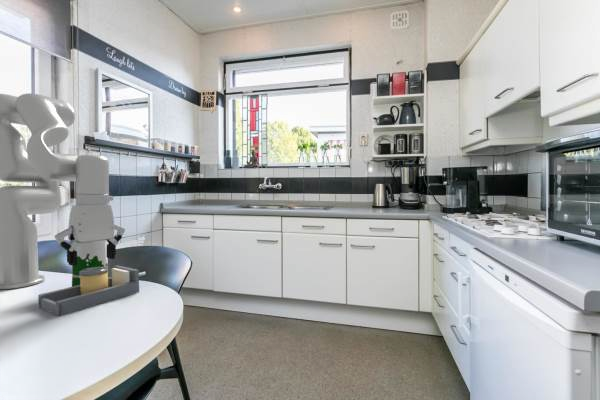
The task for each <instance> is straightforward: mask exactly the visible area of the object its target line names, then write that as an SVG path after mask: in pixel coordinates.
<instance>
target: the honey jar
mask: <svg viewBox="0 0 600 400" xmlns="http://www.w3.org/2000/svg"><path fill="white" fill-rule="evenodd" d="M108 273H109V266H108V267H93V268H87V269H83V270H81V271H80V290H81V295H83V294H86V293H90V292H94V291H98V290H102V289H105V288H108Z"/></svg>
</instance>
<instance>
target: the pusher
mask: <svg viewBox="0 0 600 400" xmlns="http://www.w3.org/2000/svg"><path fill="white" fill-rule="evenodd" d="M145 275H146V271H143V272H139V277H142V276H145ZM111 277H112V287H113V286H117V285H121V284H124V283H128V282H130V279H129V271H126V270H122V269H117V268H114V267H113V268H111Z"/></svg>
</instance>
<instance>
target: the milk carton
mask: <svg viewBox="0 0 600 400" xmlns="http://www.w3.org/2000/svg"><path fill="white" fill-rule="evenodd" d="M107 244H108V242H107V241H106V240H102V241H94V242H86V243H80V244H79V245H78V246H77V248H76V249H75V251H77V265H76V266H72V265H71V268H72V269H71V270H72V271H71V272H72V273H71V274H72V275H71V287H73V286H77V285H80V271H81V270H83V269H87V268H93V267H108V268H109V264H108V263H109V258H107ZM108 278H110V274H109V272H108Z"/></svg>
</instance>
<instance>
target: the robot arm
mask: <svg viewBox="0 0 600 400" xmlns="http://www.w3.org/2000/svg"><path fill="white" fill-rule="evenodd" d="M75 120H76V113H75V109H74V108H73V106H71V104H70V103H69V102H67V101H64V100H62V99H59V98H58V99H57V98H54V97H50V96H46V95H43V94H39V93H38V94H37V93H31V92H30V93H23V94H20V95H19V96H15V95H11V94H5V93H0V181H2V182H7V183H32V184H34V183H35V185H6V186H1V187H0V290H13V289H17V288H18V289H19V288H24V287H30V286H33V285H37V284H39V283H42V282H44V281H45V279H46V278H45V277H46V276H45V275H41V274H39V247H38V244H39V243H38V229H37V228H38V227H37V225H36V224H35V223H34V222H33V221H32V219H31V218H30V217H29V216H32V215H44V214H53V213H55V212H57V211H59V210H60V208H61V205H62V193H61V187H60V182H75V204H74V205H71V209H70V214H69V218H68V228H66V229H64V230H63V231H60V232H59V233H56V234H55V235H54V239H55V240H56V243H58V245H59V246H60V247H62V248H63V249H64V250H66V262H67V263H68V265H69V266H71V267H72V266H76V265H77V251H75V249H76V248H77V246H78V245H79V244H80V243H86V242H94V241H102V240H106V241H107V258H108V259H111V260H114V259H116V255H117V254H116V253H117V248H116V247H117V245H118V244H119V241H120V240H121V239H122V238H123V235H124V234H125V231H126V228H123V227H121V226H119V225H116V224H115V219H114V213H113V208H112V205H111V204H110V201H114V196H113V195H110V191H109V190H110V189H109V188H110V187H109V186H110V180H109V179H110V173H109V172H110V164H109V163H110V161H109V159H108V157H106V156H103V155H93V154H81V155H78V154H70V153H61V152H52V151H51V150H50V149H49V147H50V148H51V147H54V146H57V145H60V144H62V143H63V142H65V141H66V140H67V138H68V137H69V129H68V127H71V126H72V125H73V124H74V122H75ZM12 124H17V125H22V126H27V128H28V130H29V131H30V133H31V136H30V138H28V141H27V143H26V140H25V137H24V136H23V135H22V134H21V133H20V131H19V130H18V129H17V128H16V127H15V126H13V125H12ZM115 231H116V234H115ZM65 237H67V238H68V241H69V242H67V241H66V240H65Z"/></svg>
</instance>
